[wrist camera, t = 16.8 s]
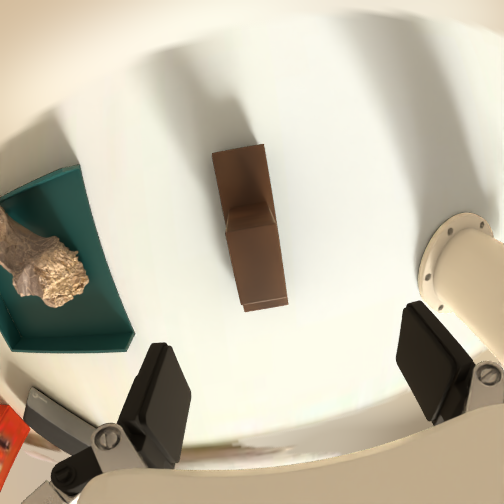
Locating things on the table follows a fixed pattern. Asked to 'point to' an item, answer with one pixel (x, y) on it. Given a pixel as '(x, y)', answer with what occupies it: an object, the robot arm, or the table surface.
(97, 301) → the dustpan
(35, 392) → the hard drive
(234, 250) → the brown stepped block
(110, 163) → the table surface
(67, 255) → the rock
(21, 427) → the file binder
